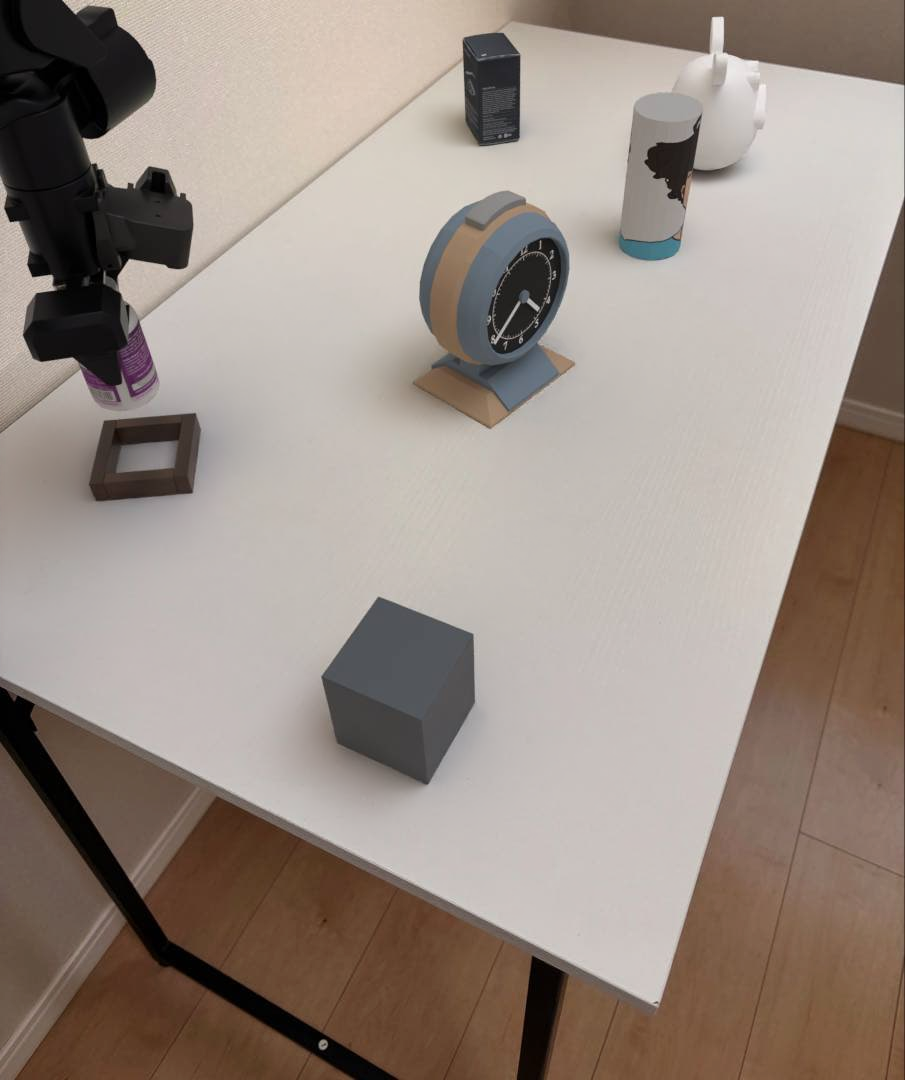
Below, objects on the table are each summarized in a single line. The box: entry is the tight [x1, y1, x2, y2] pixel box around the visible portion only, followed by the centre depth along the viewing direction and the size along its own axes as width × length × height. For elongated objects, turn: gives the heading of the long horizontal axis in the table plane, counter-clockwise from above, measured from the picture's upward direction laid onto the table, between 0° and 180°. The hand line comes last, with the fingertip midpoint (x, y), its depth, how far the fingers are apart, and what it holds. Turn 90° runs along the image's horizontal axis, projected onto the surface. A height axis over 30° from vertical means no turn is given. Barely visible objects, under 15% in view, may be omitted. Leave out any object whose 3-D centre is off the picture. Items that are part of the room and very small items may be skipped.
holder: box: [88, 412, 202, 502], centre depth 82 cm, size 8×8×2 cm
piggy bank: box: [670, 16, 768, 171], centre depth 110 cm, size 12×12×15 cm
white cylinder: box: [618, 91, 703, 261], centre depth 99 cm, size 7×7×15 cm
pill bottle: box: [77, 276, 161, 412], centre depth 72 cm, size 5×5×10 cm
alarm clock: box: [412, 190, 576, 429], centre depth 83 cm, size 14×10×18 cm
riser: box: [321, 596, 476, 785], centre depth 61 cm, size 7×7×8 cm
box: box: [461, 32, 522, 146], centre depth 120 cm, size 8×6×11 cm
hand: (116, 362), depth 73 cm, fingers closed on pill bottle, 5 cm apart
